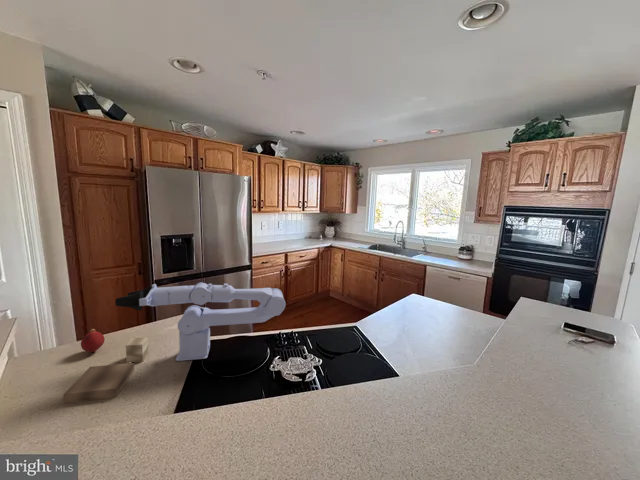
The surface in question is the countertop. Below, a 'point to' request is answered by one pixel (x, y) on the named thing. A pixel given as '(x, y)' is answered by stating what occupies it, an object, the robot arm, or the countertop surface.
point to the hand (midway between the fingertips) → (122, 299)
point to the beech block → (137, 350)
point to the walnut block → (99, 383)
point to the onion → (92, 341)
